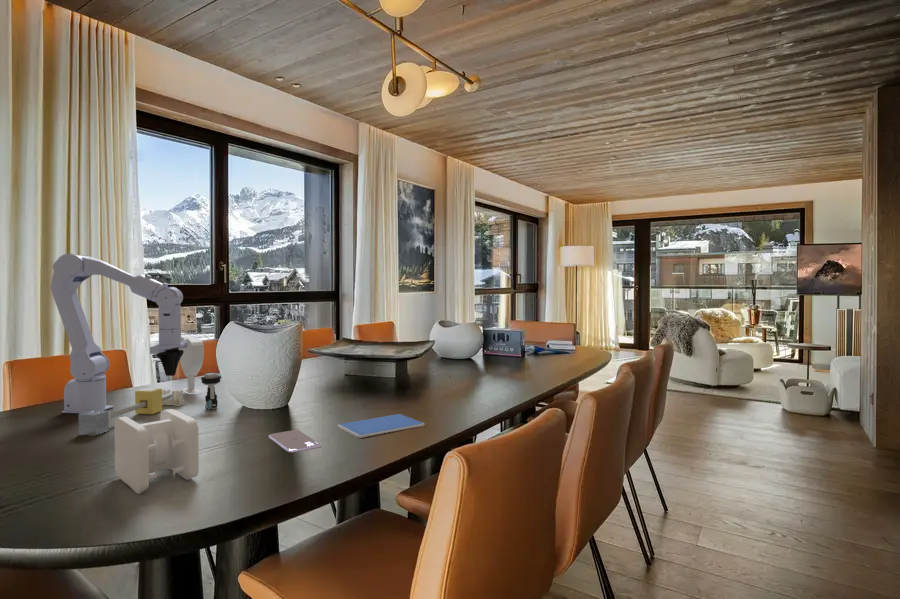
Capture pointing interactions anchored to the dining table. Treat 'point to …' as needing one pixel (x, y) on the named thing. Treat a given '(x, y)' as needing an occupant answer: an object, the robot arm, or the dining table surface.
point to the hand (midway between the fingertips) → (170, 375)
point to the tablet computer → (380, 425)
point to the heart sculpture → (192, 361)
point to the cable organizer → (156, 448)
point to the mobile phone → (294, 441)
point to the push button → (211, 389)
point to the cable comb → (173, 397)
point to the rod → (135, 406)
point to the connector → (94, 422)
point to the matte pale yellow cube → (149, 400)
